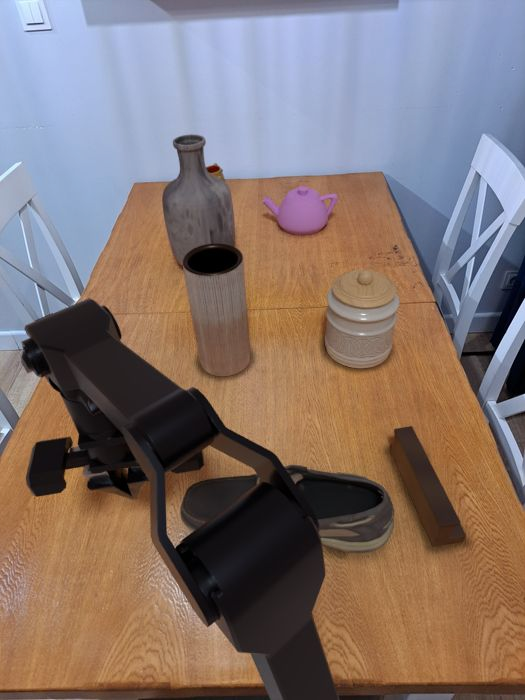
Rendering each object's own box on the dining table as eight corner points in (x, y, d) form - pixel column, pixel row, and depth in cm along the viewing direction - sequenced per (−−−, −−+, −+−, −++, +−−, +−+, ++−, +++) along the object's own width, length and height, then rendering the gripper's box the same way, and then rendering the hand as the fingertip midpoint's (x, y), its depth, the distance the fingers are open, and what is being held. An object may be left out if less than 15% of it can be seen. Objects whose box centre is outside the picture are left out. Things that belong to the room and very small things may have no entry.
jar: (333, 321, 103) (338, 247, 91) (395, 333, 99) (409, 257, 87) (316, 362, 94) (319, 285, 82) (385, 376, 90) (398, 298, 78)
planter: (192, 353, 97) (173, 252, 82) (237, 336, 100) (227, 237, 85) (212, 384, 90) (195, 281, 75) (259, 365, 94) (253, 263, 78)
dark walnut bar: (463, 541, 66) (474, 519, 62) (431, 547, 66) (440, 526, 62) (416, 447, 78) (423, 423, 74) (389, 451, 78) (394, 428, 74)
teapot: (264, 214, 141) (263, 177, 134) (334, 213, 139) (336, 176, 132) (261, 237, 130) (259, 200, 123) (337, 237, 129) (339, 198, 122)
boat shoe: (190, 483, 75) (179, 439, 68) (384, 485, 73) (394, 440, 66) (178, 552, 67) (165, 511, 60) (396, 556, 65) (408, 515, 58)
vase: (247, 272, 118) (237, 145, 98) (182, 288, 114) (159, 159, 94) (226, 242, 130) (214, 122, 109) (167, 255, 126) (143, 134, 106)
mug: (223, 194, 152) (221, 173, 147) (202, 194, 153) (199, 173, 148) (230, 178, 161) (228, 158, 156) (209, 178, 161) (207, 158, 157)
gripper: (188, 348, 57) (205, 432, 67) (23, 371, 55) (66, 454, 65) (194, 420, 49) (212, 504, 59) (0, 451, 47) (53, 531, 57)
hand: (134, 495), depth 60 cm, fingers closed
